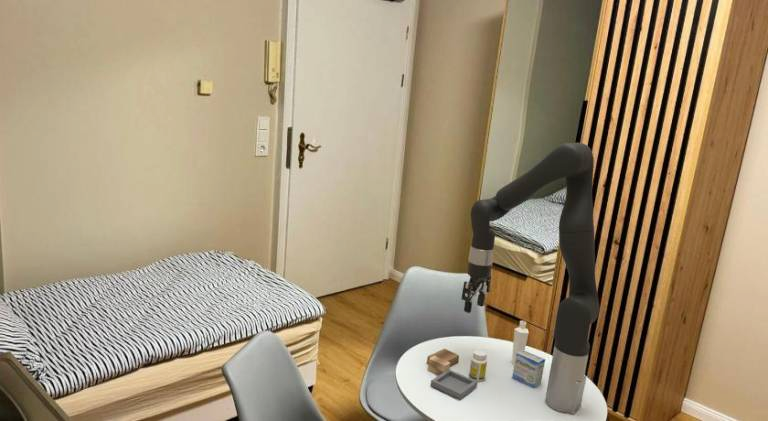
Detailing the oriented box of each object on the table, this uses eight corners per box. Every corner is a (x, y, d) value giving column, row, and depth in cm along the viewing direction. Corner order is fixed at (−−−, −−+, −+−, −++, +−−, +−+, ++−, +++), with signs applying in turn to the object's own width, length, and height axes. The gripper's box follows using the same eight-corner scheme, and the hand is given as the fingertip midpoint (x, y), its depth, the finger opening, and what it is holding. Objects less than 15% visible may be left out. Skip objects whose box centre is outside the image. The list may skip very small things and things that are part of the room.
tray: (476, 387, 162) (477, 381, 162) (459, 400, 154) (460, 394, 154) (448, 375, 168) (448, 369, 168) (430, 386, 160) (431, 380, 160)
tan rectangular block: (449, 374, 168) (450, 362, 168) (443, 377, 166) (445, 365, 165) (432, 367, 172) (434, 355, 171) (427, 370, 170) (428, 358, 169)
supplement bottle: (483, 374, 170) (487, 350, 169) (485, 382, 166) (488, 357, 164) (468, 372, 171) (472, 348, 169) (469, 380, 166) (472, 355, 164)
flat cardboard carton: (458, 363, 177) (459, 355, 176) (441, 372, 170) (442, 363, 170) (443, 356, 181) (444, 348, 180) (426, 364, 174) (427, 356, 173)
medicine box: (511, 378, 170) (515, 352, 168) (518, 374, 173) (522, 348, 171) (534, 389, 165) (538, 362, 163) (541, 384, 168) (545, 358, 166)
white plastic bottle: (508, 360, 182) (515, 318, 179) (521, 362, 181) (528, 320, 178) (509, 366, 177) (516, 323, 174) (523, 368, 177) (530, 325, 174)
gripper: (480, 268, 165) (473, 318, 168) (501, 260, 176) (494, 307, 179) (458, 261, 170) (452, 310, 173) (480, 254, 181) (474, 300, 184)
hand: (473, 308), depth 176 cm, fingers open, 8 cm apart
